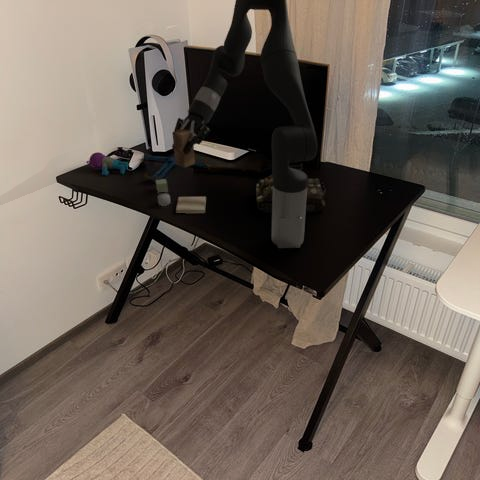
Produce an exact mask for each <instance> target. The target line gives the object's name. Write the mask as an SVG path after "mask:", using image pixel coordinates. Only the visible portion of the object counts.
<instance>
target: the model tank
mask: <svg viewBox="0 0 480 480" xmlns="http://www.w3.org/2000/svg"><path fill="white" fill-rule="evenodd" d="M293 167H295V168H296V167H298V170H300V171H302V172H303V163H300V164H298V163H297V165H291V164H289V168H293ZM299 167H300V168H299ZM326 189H327V185H326V182H325V181H321V180H320V178H308V186H307V200H306V213H316V212H319V211H322V209H323V207H326V202H325V200H324V198H325V196H326V195H325V194H326ZM255 193H256V197H255V198H256V207H257V209H258V210H260V211H262V212H265V213H272V196H273V175H272V174H270V175H269V176H268V177H265V178H264V179H261V178H259V179H258V183H256V186H255Z"/></svg>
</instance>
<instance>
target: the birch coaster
mask: <svg viewBox="0 0 480 480" xmlns="http://www.w3.org/2000/svg"><path fill="white" fill-rule="evenodd" d="M206 203H207V196H178V198H177V203H176V208H175V213H186V214H205V213H206V206H207V205H206Z"/></svg>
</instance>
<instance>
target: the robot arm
mask: <svg viewBox="0 0 480 480" xmlns="http://www.w3.org/2000/svg"><path fill="white" fill-rule="evenodd" d="M250 10H255V11H257V10H258V11H259V10H260V11H262V10H263V11H268V12H269V15H270V18H271V19H270V20H271V21H270V23H271V24H270V29H269V32H268V35H267V36H266V39H265V41H264V43H263V46H262V49H261V50H260V57H259V58H260V64H261V68H262V75H263V78H264V79H263V80H264V82H265V84H266V86H267V88H268V89H269V90H270V91H271V92H272V94H273V95H275V97H276V98H277V99H278V100H279V101H280V102H281V103H282V104H283V105H284V106H285V107H286V109H287V110H288V112H289V113H290V116H291V118H292V121H293V124H294V125H293V124H292V125H285V126H278V127H275V129H273V132H272V134H271V164H272V165H271V168H272V169H271V175H273V196H272V212H271V242H272V243H273V244H274V245H275V246H277V248H278V249H296V248H297V249H299V248H301V245H302V244H303V243H304V239H305V226H306V225H305V224H306V214H307V212H306V200H307V186H308V179H309V177H308V175H307V173H305V172H304V171H303V170H302V171H300V170H299V169H297V168H293V167H289V166H290V164H293V163H294V164H295V163H302V162H308V161H312V160H314V159H315V158H316V157H317V154H318V138H317V133H316V130H315V126H314V122H313V119H312V117H311V112H310V111H309V110H310V109H309V107H308V103H307V100H306V96H305V91H304V87H303V82H302V77H301V71H300V65H299V61H298V56H297V53H296V49H295V48H296V47H295V45H294V40H293V36H292V30H291V25H290V19H289V11H288V10H289V9H288V2H287V0H235V3H234V8H233V12H232V13H233V14H232V18H231V24H230V26H229V30H228V31H227V34H226V37H225V39H224V42H223V45H219V46H217V47H216V48H215V49H214V52H213V54H212V58H211V64H210V66H209V67H210V68H209V71H208V74H207V76H206V78H205V80H204V82H203V83H202V85H201V87H200V89H199V90H198V92H197V93H196V95H195V97H194V98H193V101H192V102H191V104H190V106H189V108H188V110H187V116H186V117H185V118H183V119H182V118H181V117H178V118H177V121H176V123H175V126H174V130H173V132H174V131H177V130H180V129H186V130H189V131H190V132H191V133H190V137H189V140H188V141H187V143H186V145H185V147H184V148H183V150H182V152H184V153H185V154H188V153H189V152H190V150H191V149H192V147H193V145H200V144H201V143H202V142H203V141H204V140H205V138H206V137H207V136H208V135H209V133H211V129H210V128H209V127H208V126H206V125H207V124H209V122H210V120H211V119H212V117H213V116H214V113H215V111H216V110H217V108H218V106H219V103H220V100H221V98H222V96H223V95H224V93H225V91H226V89H227V87H228V82H227V80H226V79H225V78H224V77H223V76H222V75H221V73H220V72H219V70H220V71H222V72H223V73H225V74H227V75H229V76H230V77H237V76H239V75H240V74H241V73H242V71H243V69H244V67H245V61H246V60H245V59H246V56H245V55H246V50H247V48H248V46H249V44H250V42H251V40H252V36H253V28H252V24H251V22H250V20H249V17H248V13H249V11H250ZM171 148H172V150H174V143H172V146H171Z"/></svg>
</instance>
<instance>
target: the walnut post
mask: <svg viewBox="0 0 480 480" xmlns="http://www.w3.org/2000/svg"><path fill="white" fill-rule="evenodd" d="M190 133H191V132H190V131H189V130H186V129H180V130H177V131H174V130H173V131H172V141H173V143H174V149H173V150H174V151H173V152H174V154H175V161H176V166H179V167H181V168H184V169H185V168H189V167H191V166H194V165H193V164H195V162H196V158H195V147H194V145H193V147H192V149H191V150H190V152H189V153H188V154H185V153H184V152H182V150H183V148H184V147H185V145H186V143H187V141H188V140H189V137H190ZM173 143H172V144H173Z"/></svg>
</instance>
